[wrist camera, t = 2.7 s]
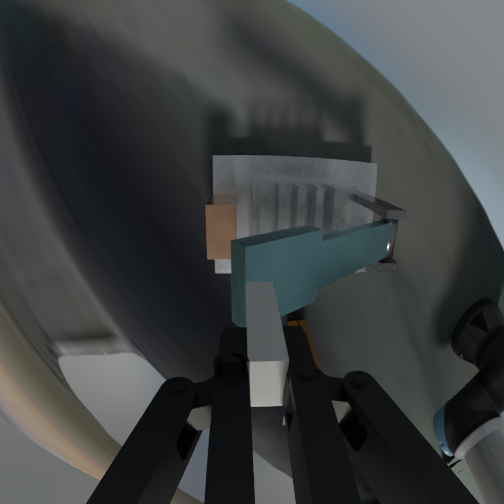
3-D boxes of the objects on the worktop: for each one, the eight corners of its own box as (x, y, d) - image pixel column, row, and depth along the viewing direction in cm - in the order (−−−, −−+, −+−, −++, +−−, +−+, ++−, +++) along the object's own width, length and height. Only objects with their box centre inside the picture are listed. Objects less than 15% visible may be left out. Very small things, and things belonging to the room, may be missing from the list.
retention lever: (386, 209, 30) (401, 213, 28) (380, 258, 32) (393, 263, 30) (229, 239, 18) (247, 247, 16) (230, 319, 20) (247, 333, 19)
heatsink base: (371, 162, 37) (416, 170, 25) (360, 266, 42) (393, 305, 31) (214, 155, 36) (200, 157, 25) (216, 267, 42) (207, 310, 30)
